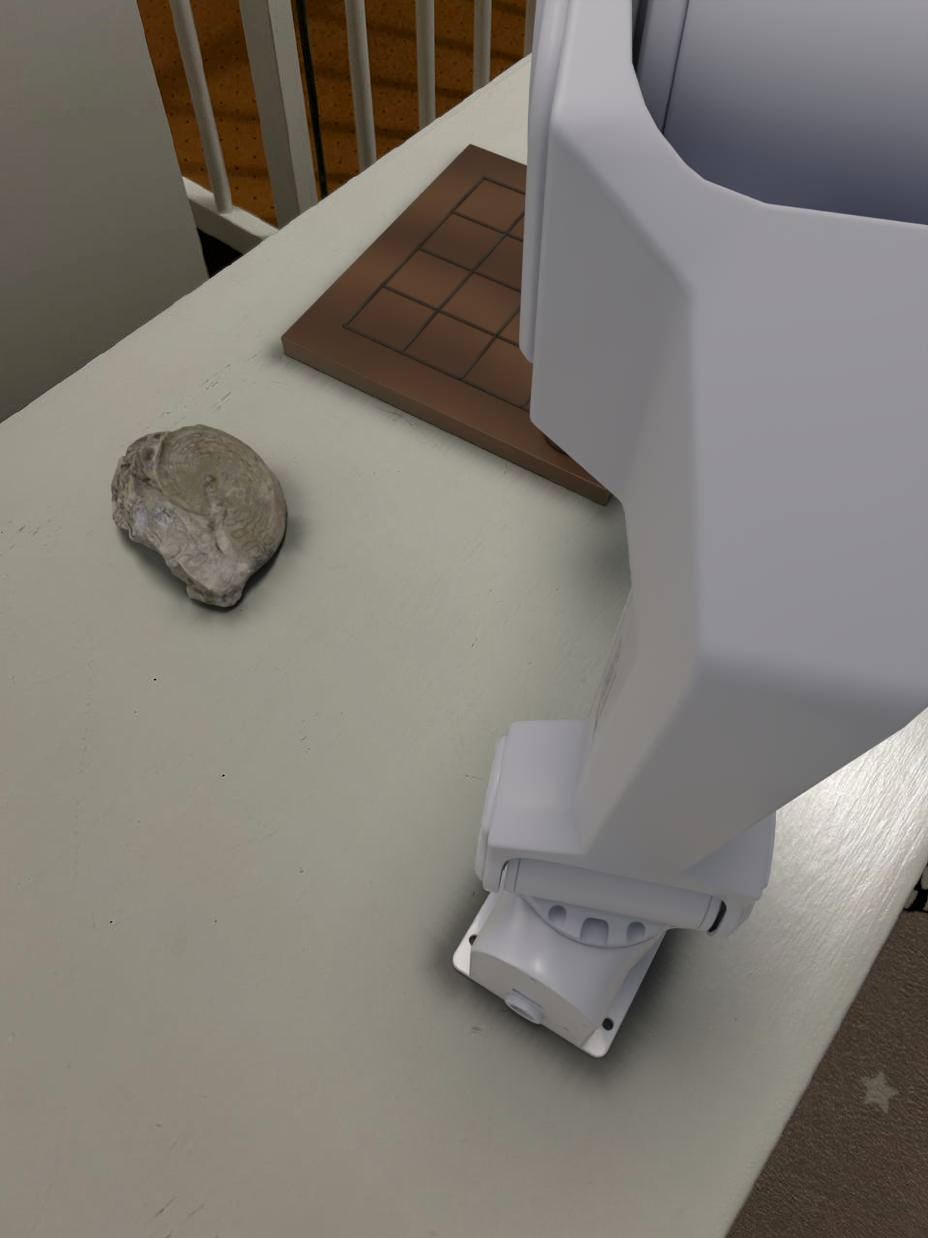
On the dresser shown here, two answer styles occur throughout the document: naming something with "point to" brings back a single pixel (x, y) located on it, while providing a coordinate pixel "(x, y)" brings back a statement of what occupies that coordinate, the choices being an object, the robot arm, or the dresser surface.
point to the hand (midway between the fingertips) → (663, 405)
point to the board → (444, 318)
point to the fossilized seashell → (201, 508)
